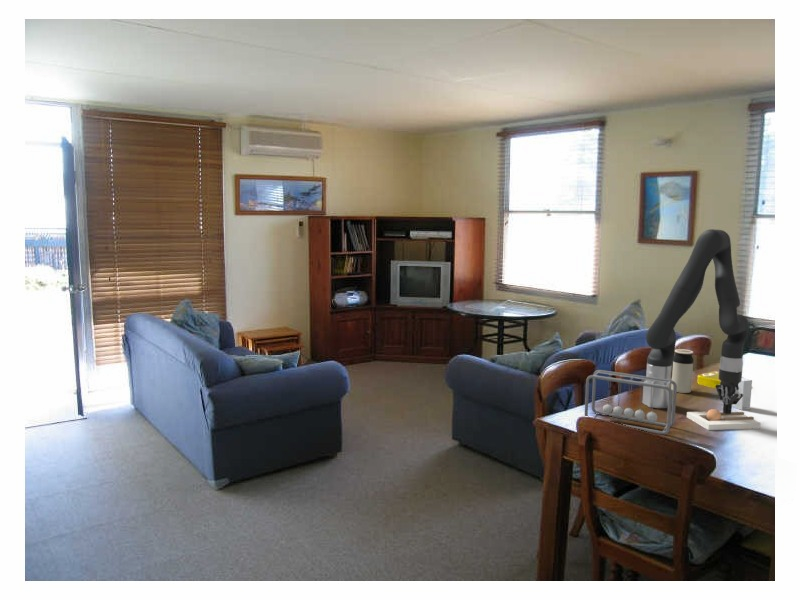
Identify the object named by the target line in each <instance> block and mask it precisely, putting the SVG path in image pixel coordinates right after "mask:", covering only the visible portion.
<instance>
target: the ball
mask: <svg viewBox="0 0 800 600" xmlns="http://www.w3.org/2000/svg"><path fill="white" fill-rule="evenodd" d="M719 411H720V410H718V409H715V408H711V409H709V410H708V412H707V411H706V412H707V414H706V416H707V419H708V420H709V421H720V420H721V413H720V412H719Z"/></svg>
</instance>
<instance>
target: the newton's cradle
mask: <svg viewBox="0 0 800 600" xmlns="http://www.w3.org/2000/svg"><path fill="white" fill-rule="evenodd" d="M598 374H603V375H609V376H603V375H598ZM612 376H617V377H619V378H615V377H612ZM624 377H625V378H630V379H624ZM591 379H592V390H591V391H592V394H591V411H592V412H593V414H594V415H593V416H592V417H594V416H595V415H596V414H597V413H599V414H605V415H609V416H608V417H610V416H612V417H611V418H615V417H616V418H617V419H622V420H628V421H633V422H639V423H645V424H649V425H655V426H661V427H664V429H663V430H658V429H652V428H651V429H650V428H646V427H642V426H641V427H640V426H636V425H629V424H624V423H622V424H623V425H626V426H629V427H633V428H637V429H640V430H639V431H641V430H644V431H643V432H646V431H647V433H653V434H657V435H661V436H662V435H663V436H664V435H667V434H669V432H670V431H671V427H673V426H674V425H675V419H676V418H675V416H676V404H677V393H678V392H677V385H676V383H675V382H674V381H673V380H672V379H671V380H668V379H661V378H654V377H646V375H639V374H630V373H624V372H619V371H618V372H617V371H610V370H609V371H608V370H605V369H597V370H595V371H594V372H593V373H592V374H590V375H588V376H587V378H586V379H585V399H584V417H585V416H588V413H589V395H590V380H591ZM634 379H639V380H642V381H636V380H634ZM597 380H603V381H607V382H610V384H609V387H611V386H612V383H611V382H615V383H617V385H618V386H617V387H618V388H617V390H618V391H617V394H618V395H617V396H618V397H617V398H618V400H617V406H614V407H613V405H611V404H610V400H607V404H604V405H603V406H602V411H598V410H596V409H595V408H596V406H595V405H596V387H597ZM646 380H651V381H654V383H655V381H658V382H665V383H668V384H667V385H666V386H665V385H658V384H651V383H644V381H646ZM669 383H671V385H672V384H673V390H671V387H670V388H669V387H667V386H668V385H669ZM620 384H627V385H628V392H631V391H632V387H633V385H636V386H639V392H642V391H643V386H648V387H651V393H652V387H654V388H661V389H666V390H668V392H669V398H668V407H667V413H666V415H667V417H666V423H664V422H659V421H658V414H657V413H656V412H654V410H653V409H654V408H653V405H652V407H651V411H649V412H647V413H645V411H643V410H642V409H641V408H642V404H639V409H637V410H635V411H634V410H633V408H631V404H628V407H626V408H625V409H624V408H623V407H622V406H620V403H621V402H620V400H621V396H620V393H621V391H622V390H621V389H622V386H620ZM630 385H631V388H630ZM610 395H611V391H608V397H610ZM653 398H654V391H653ZM631 399H632V394H629V401H631ZM640 401H643V394H640ZM595 413H596V414H595ZM599 414H597V415H599ZM588 417H589V416H588ZM595 417H596V416H595ZM595 417H594V418H595ZM645 418H646V419H645Z"/></svg>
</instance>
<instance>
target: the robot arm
mask: <svg viewBox="0 0 800 600" xmlns="http://www.w3.org/2000/svg"><path fill="white" fill-rule="evenodd" d="M732 259H733V258H732V243H731V237H730V235H729V234H728V233H727V232H726V231H724V230H723V229H714V228H713V229H711V228H710V229H707V230H704V231H702V232H701V233H700V234H699V236H698V237H697V240H696V242H695V244H694V247H693V248H692V251H691V254H690V256H689V258H688V260H687V262H686V264H685V266H684V267H683V269H682V271H681V273H680V274H679V276H678V278H677V279H676V281H675V282H674V284H673V287H672V289H671V290H670V292H669V295H668V296H667V297H666V298H667V299H666V300H665V302H664V304H663V307H661V310H660V313H659V314H658V316H657V317H656V318H655V320H654V321H653V323H652V324H651V325H650V326H649V328H648V330H647V331H646V335H645V341H646V344H647V345H648V346H649V347H650V348H651V349H650V352H649V354H648V356H647V357H646V360H647V361H646V375H645V376H646V377H654V378H661V379H668V380H672V370H673V358H674V356H675V350H676V343H677V342H676V341H677V335H676V331H675V327H676V326H677V323H678V322H679V320H680V319H681V318H682V317H683V316H684V315H685V314H686V313H687V312H688V310H689V309H690V308H691V307H692V305H693V304H694V303H695V301H696V299H697V298H698V297H699V294H700V292H701V290H702V288H703V286H704V280H705V276H706V271H707V269H708V267H709V265H710V263H711V262H712V260H713V264H714V289H715V295H716V300H717V304H718V325H719V328H720V330H721V331H722V332H723V334H725V335H727V337H726V338H725V340H724V341H722V344H721V353H720V358H719V365H718V366H719V370H718V372H719V380H720V381H721V382H720V384H719V385H716V388H715V390H716V391H717V392H716V393H717V395H718V397H719V400H720V401H721V402H722V403H723V404H722V405H723V407H722V411H723V413H725V414H731V411H733V410H732V408H733V407H732V404H737V403H738V401H739V400H740V399H741V398H742V397H743V394H740V393H739V391H738V390H739V387H738V384H739V383H740V382H741V380H742V377H743V366H744V365H743V364H744V360H743V358H744V346H745V343H746V341H747V337H748V335H749V330H750V323H749V320H748V318H747V317H746V316H745V315H743V314H738V308H739V306H740V305H741V300H740V296H739V292H738V287H737V284H736V279H735V274H734V273H735V272H734V269H733V268H734V267H733V260H732ZM643 382H644V383H651V384H658V385H665V386H666V385H667V384H668V383H665V382H658V381H655V383H654V381H651V380H643ZM671 385H672V383H669V385H668V386H667V387H669V388H670V389H671ZM653 391H654V398H653ZM668 398H669V392H668V390H666V389H661V388H654V387H652V393H651V387H648V386H643V390H642V401H641V404H643V405H645V406H647V407H648V408H652V405H653V409H654V408H655V409H668Z"/></svg>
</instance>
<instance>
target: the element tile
mask: <svg viewBox="0 0 800 600" xmlns="http://www.w3.org/2000/svg"><path fill="white" fill-rule="evenodd" d="M696 378H697V380H696V381H697V382H696V384H697V383H698V384H697V385H700V386H704V387H708V388H713V389H716V385H719V384H720V382H721V381H720V380H719V371H717V370H713V371H708V372H705V373H701V374H698V375H697V377H696Z"/></svg>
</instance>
